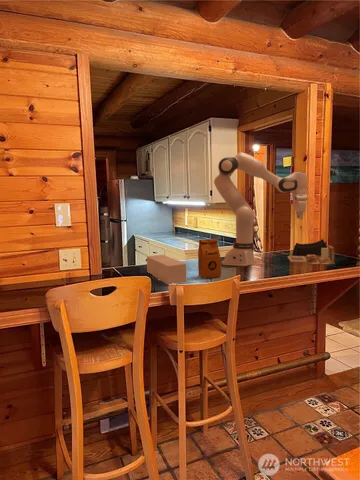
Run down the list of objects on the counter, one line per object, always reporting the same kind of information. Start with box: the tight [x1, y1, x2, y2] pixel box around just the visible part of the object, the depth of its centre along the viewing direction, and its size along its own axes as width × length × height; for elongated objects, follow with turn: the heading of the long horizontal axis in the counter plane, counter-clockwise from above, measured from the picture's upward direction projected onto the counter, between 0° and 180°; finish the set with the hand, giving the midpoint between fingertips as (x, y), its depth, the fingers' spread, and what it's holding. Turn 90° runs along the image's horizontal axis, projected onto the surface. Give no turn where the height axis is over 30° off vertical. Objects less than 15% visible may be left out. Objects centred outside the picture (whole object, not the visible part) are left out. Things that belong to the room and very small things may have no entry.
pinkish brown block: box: [146, 254, 188, 285], centre depth 187 cm, size 32×11×11 cm, turn 26°
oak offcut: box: [306, 255, 318, 259], centre depth 213 cm, size 5×4×2 cm
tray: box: [287, 255, 307, 263], centre depth 221 cm, size 10×14×2 cm
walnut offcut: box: [305, 256, 318, 264], centre depth 213 cm, size 6×5×3 cm
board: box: [320, 247, 329, 258], centre depth 212 cm, size 4×2×9 cm, turn 80°
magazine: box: [291, 239, 328, 257], centre depth 240 cm, size 17×3×30 cm
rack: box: [307, 245, 335, 265], centre depth 212 cm, size 16×11×11 cm
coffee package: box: [197, 238, 222, 279], centre depth 186 cm, size 10×12×22 cm
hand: (299, 218), depth 211 cm, fingers open, 8 cm apart
